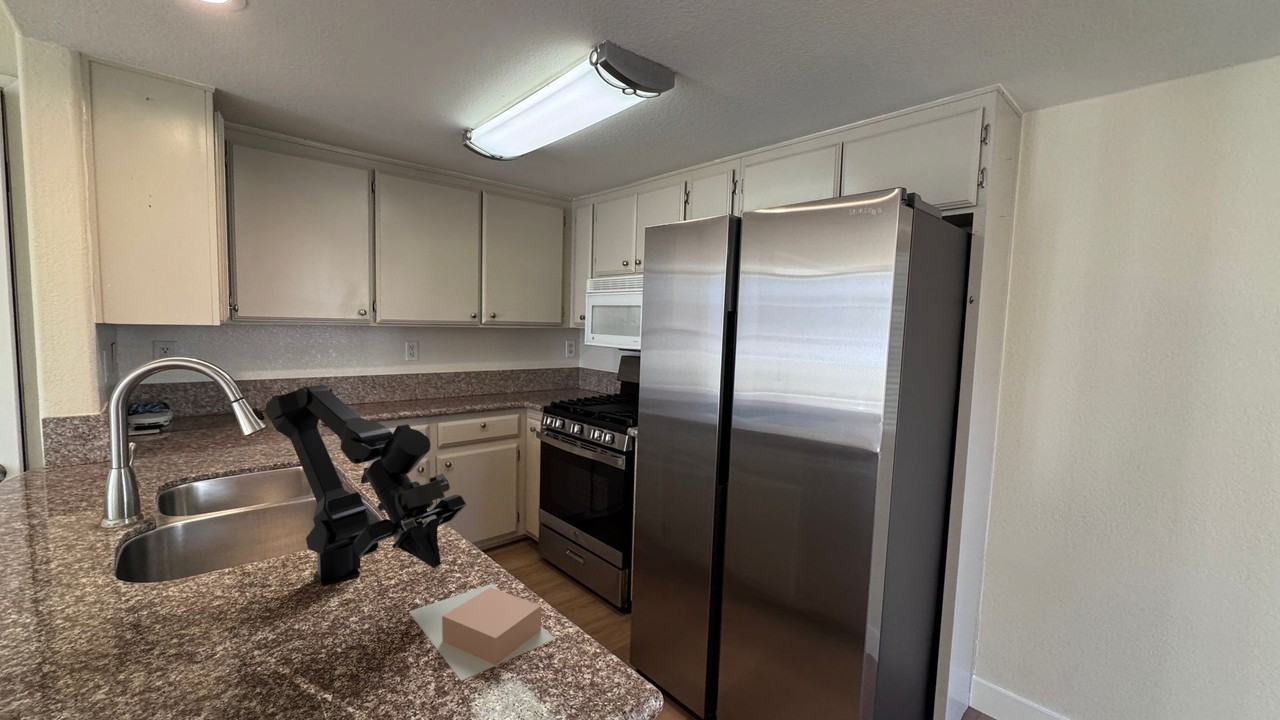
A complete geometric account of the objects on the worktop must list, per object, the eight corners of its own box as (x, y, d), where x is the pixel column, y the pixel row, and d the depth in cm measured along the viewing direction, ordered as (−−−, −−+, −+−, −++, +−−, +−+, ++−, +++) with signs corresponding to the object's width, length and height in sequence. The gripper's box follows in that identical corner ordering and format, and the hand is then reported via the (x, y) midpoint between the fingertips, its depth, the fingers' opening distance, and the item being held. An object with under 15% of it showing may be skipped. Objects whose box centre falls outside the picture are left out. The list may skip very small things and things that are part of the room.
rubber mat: (461, 684, 71) (461, 680, 71) (408, 614, 87) (408, 611, 87) (555, 641, 81) (555, 638, 80) (492, 586, 97) (492, 583, 97)
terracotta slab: (442, 615, 79) (495, 638, 74) (490, 587, 88) (541, 605, 82) (442, 641, 79) (495, 665, 74) (490, 610, 88) (541, 629, 83)
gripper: (364, 476, 79) (412, 564, 75) (459, 451, 96) (503, 522, 91) (334, 515, 84) (377, 600, 79) (430, 484, 100) (470, 554, 96)
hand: (437, 566), depth 86 cm, fingers closed
